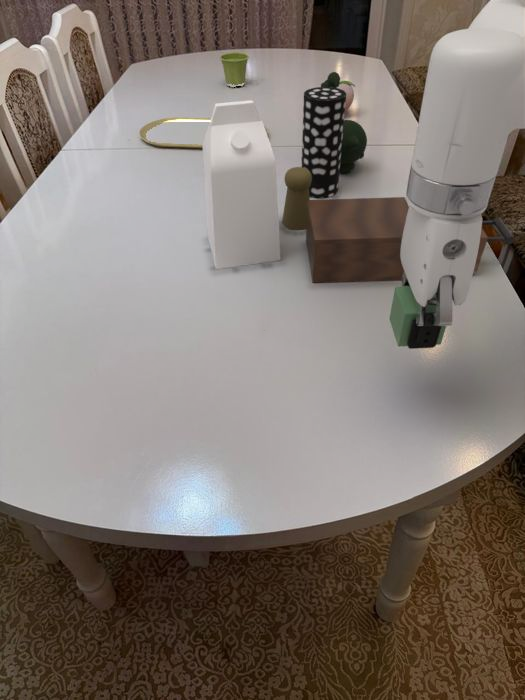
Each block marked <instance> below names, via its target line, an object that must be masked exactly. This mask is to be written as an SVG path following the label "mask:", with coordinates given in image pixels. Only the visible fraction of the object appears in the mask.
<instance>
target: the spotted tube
mask: <svg viewBox="0 0 525 700" xmlns="http://www.w3.org/2000/svg"><path fill="white" fill-rule="evenodd" d="M345 104H346V92H345V91H344V90H341V89H338V88H333V87H321V86H317V87H311V88H308V89H307V90H305V91H304V92H303V105H302V106H303V107H302V137H301V139H302V140H301V163H300V164H301V166H300V167H303V168H306V169H308V170H309V171H310V173H311V175H312V181H311V185H310V186H309V197H310V198H312V199H327V198H328V199H329V198H331V197H333V196H335V195H336V194H337V193H338V191H339V183H340V182H339V181H340V173H341V172H340V160H341V149H342V138H343V126H344V120H345V115H346V114H345V112H346V111H345Z"/></svg>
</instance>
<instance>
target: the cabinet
mask: <svg viewBox="0 0 525 700" xmlns="http://www.w3.org/2000/svg"><path fill="white" fill-rule="evenodd" d="M307 204H308V205H307V226H306V230H305V244H306V250H307V251H306V252H307V257H308V263H309V269H310V270H309V271H310V276H311V283H312V284H318V283H319V284H320V283H321V284H325V283H353V282H354V283H355V282H358V283H359V282H385V281H386V282H387V281H388V282H389V281H390V282H391V281H402V276H403V273H404V269H403V266H402V263H401V257H400V251H401V242H402V236H403V231H404V226H405V222H406V217H407V213H408V209H409V205H408V204H407V202H406V196H397V197H392V196H391V197H364V198H363V197H361V198H360V197H357V198H331V199H329V198H328V199H327V198H324V199H310V200H308V203H307Z"/></svg>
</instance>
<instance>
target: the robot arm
mask: <svg viewBox="0 0 525 700" xmlns="http://www.w3.org/2000/svg"><path fill="white" fill-rule="evenodd" d="M426 73H427V74H426V79H425V84H424V89H423V95H422V101H421V105H420V112H419V119H418V124H417V129H416V133H415V134H416V135H415V141H414V146H413V153H412V158H411V164H410V169H409V175H408V180H407V187H406V191H405V199H406V202H407V204H408V206H409V209H408V213H407V217H406V222H405V226H404V231H403V236H402V242H401V251H400V257H401V263H402V266H403V269H404V273H403V276H402V280H401V286H410V287H411V290H412V292H413V294H414V297H415V299H416V301H417V302H418V307H417V316H416V320H412V324H411V329H410V333H409V337H408V342H407V345H408V346H407V348H408V349H410V350H411V349H413V350H414V349H433V348H436V346H437V345H436V344H437V340H438V337H439V333H440V330H441V326H446V327H448V326H452V325H453V305H454V306H463V304H465V302H466V300H467V297H468V293H469V291H470V287H471V283H472V280H473V276H474V273H475V272H474V267H475V263H476V259H477V254H478V249H479V243H480V236H481V228H482V229H483V225H482V221H483V217H482V214H483V213H484V212H485V211H486V209H488V204H489V200H490V197H491V194H492V191H493V188H494V184H495V181H496V179H497V178H496V177H497V174H498V171H499V168H500V165H501V162H502V159H503V155H504V151H505V148H506V145H507V142H508V139H509V135H510V133H511V132H513V131H515V130H525V0H489V1H488V2H487V3H486V4H485V6H483V7H482V9H481V11H480V12H479V13H478V14H477V16H476V17H474V19H473V21H472V22H471V23H470V25H469V26H468V28H464V29H463V28H462V29H459V30H458V29H457V30H454V31H452V32H448V33H446V34H445V35H444V36H442V37H441V38H440V39H438V41H436V43H435V45H434V47H433V48H432V51H431V54H430V58H429V62H428V68H427V72H426ZM435 293H436V296H434V295H435ZM426 305H436V313H429V314H425V311H426Z"/></svg>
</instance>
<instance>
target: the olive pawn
mask: <svg viewBox="0 0 525 700" xmlns="http://www.w3.org/2000/svg"><path fill="white" fill-rule="evenodd" d="M311 181H312V175H311V173H310V171H309V170H308V169H306V168H303V167H301V166H295V167H291V168H289V169H288V170H287V171H286V172H285V175H284V184H285V186H286V187H287V188H286V195H285V201H284V208H283V213H282V220H281V223H282V225H283V227H285V228H286V229H289V230H292V231H301V230H305V229H306V226H307V205H308V204H307V203H308V200H311V199H310V198H311V197H309V186H310V185H311Z"/></svg>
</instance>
